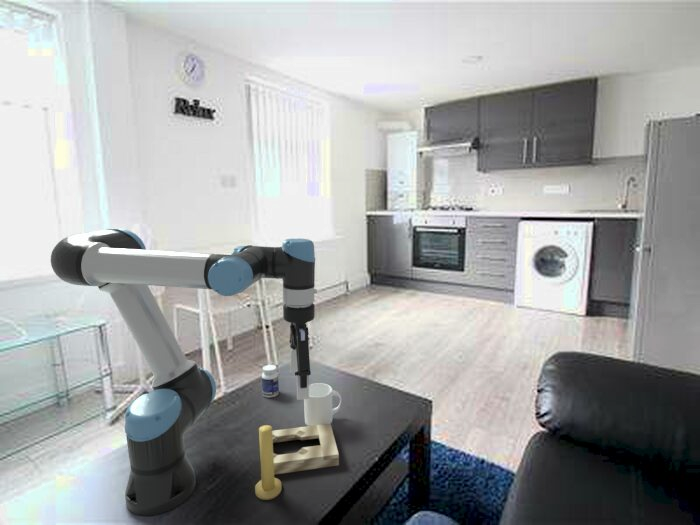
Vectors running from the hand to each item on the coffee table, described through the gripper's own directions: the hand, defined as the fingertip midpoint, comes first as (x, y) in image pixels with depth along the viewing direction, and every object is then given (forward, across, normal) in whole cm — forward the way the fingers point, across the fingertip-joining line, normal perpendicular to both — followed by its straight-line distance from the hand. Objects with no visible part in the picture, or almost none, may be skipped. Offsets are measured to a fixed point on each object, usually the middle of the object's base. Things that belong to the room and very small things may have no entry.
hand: (299, 384), depth 101 cm
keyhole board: (+22, +4, -1) cm, 23 cm away
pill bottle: (+23, +39, +5) cm, 46 cm away
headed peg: (+23, -7, +8) cm, 25 cm away
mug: (+23, +18, -10) cm, 31 cm away
